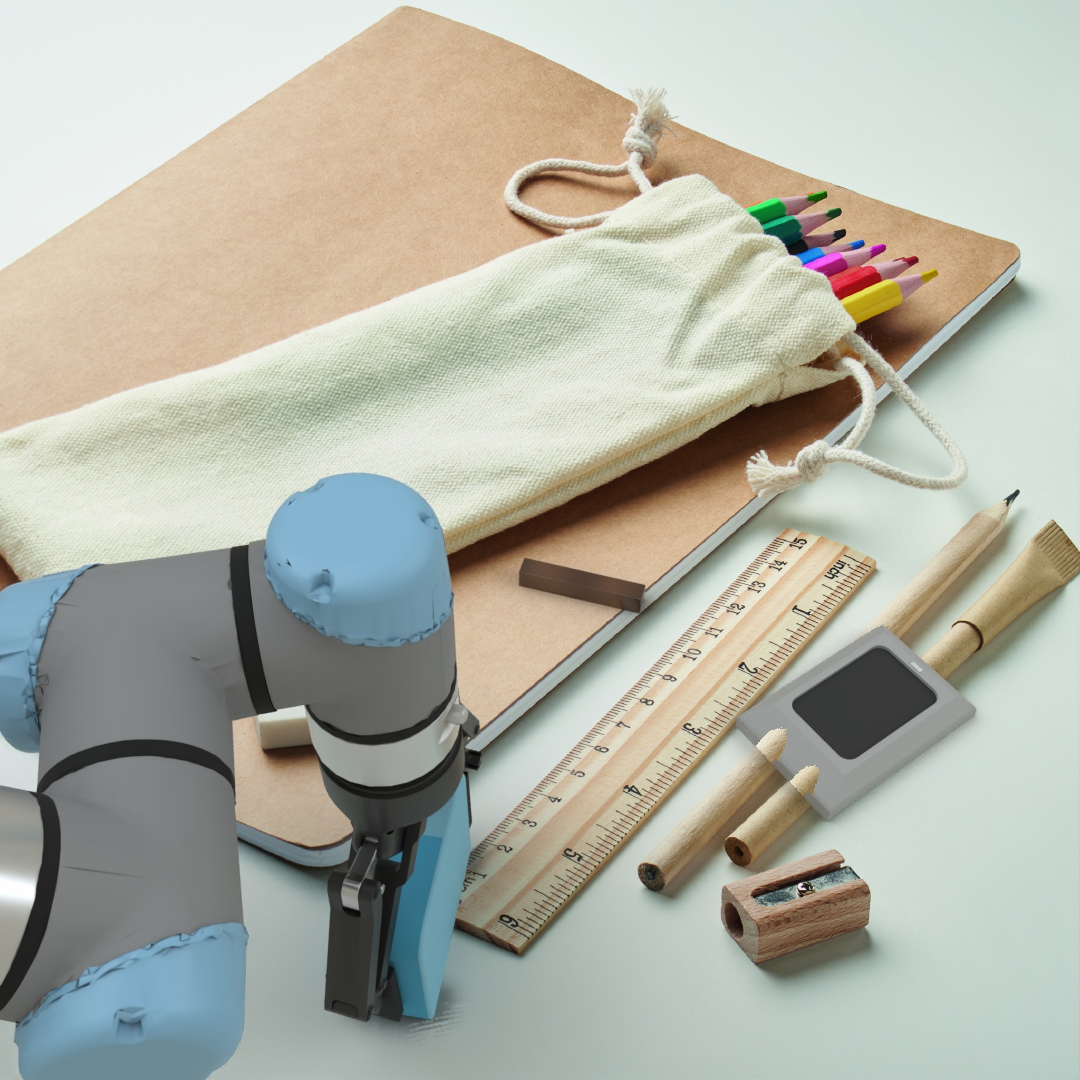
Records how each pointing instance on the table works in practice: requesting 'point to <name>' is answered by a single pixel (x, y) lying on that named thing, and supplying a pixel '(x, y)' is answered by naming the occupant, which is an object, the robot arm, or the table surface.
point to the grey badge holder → (858, 718)
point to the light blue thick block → (431, 906)
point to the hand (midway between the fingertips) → (417, 911)
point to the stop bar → (582, 585)
